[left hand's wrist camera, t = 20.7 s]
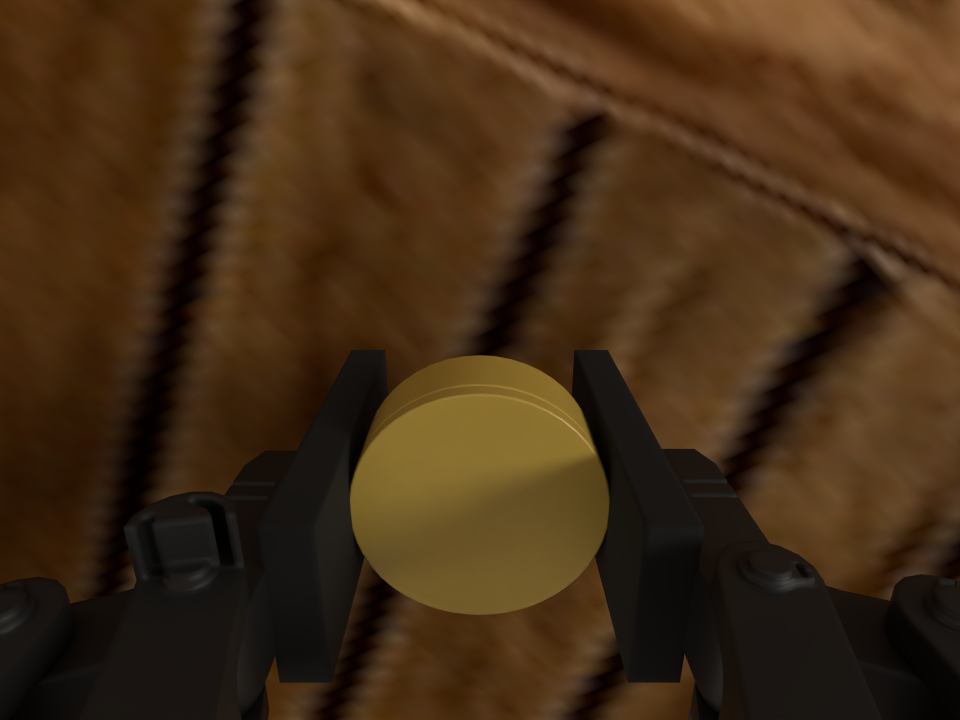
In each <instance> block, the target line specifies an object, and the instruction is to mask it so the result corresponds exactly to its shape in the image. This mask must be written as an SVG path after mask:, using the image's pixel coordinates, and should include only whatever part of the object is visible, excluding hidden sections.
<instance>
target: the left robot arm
mask: <svg viewBox="0 0 960 720" xmlns="http://www.w3.org/2000/svg"><path fill="white" fill-rule="evenodd" d="M387 396H388V391H387V374H386V358H385V350H352V351H351V353H350V355H349V357H348V358H347V360H346V362H345V364H344V366H343V367H342V369H341V371H340V373H339V375H338V377H337V378H336V380H335V382H334V384H333V386H332V388H331V389H330V391H329V393H328V395H327V397H326V399H325V400H324V402H323V404H322V406H321V408H320V410H319V411H318V413H317V415H316V417H315V419H314V420H313V422H312V424H311V426H310V428H309V430H308V431H307V433H306V435H305V437H304V439H303V441H302V442H301V444H300V446H299V448H298V450H297V451H265V452H263V453H262V454H260V455H259V456H258V457H256V458H255V459H253V460H252V461H250V462H249V463H248V464H246V465H245V466H244V467H243V469H242V470H241V472H240V473H239V475H238V476H237V478H236V479H235V481H234V482H233V486H230V488H229V489H228V491H227V492H226V494H225V495H221V494H217V493H213V492H189V493H184V494H179V495H174V496H170V497H167V498H165V499H162V500H160V501H157V502H155V503H152V504H150V505H149V506H147V507H146V508H144V509H142V510H141V511H139V512H138V513H136V514H135V515H134V516H133V517H132V518H131V519H130V520H129V522H128V523H127V524H126V525H125V526H124V532H125V536H126V540H127V544H128V548H129V552H130V556H131V560H132V564H133V567H134V571H135V575H136V579H137V582H136V584H135V586H134V589H131V590H127V591H124V592H120V593H117V594H112V595H108V596H103V597H98V598H94V599H89V600H85V601H80V602H75V603H71V604H70V601H69V598H68V595H67V591H66V588H65V587H64V586H62V585H61V584H60V583H59V582H58V581H57V580H53V579H47V578H42V577H37V578H28V579H19V580H15V581H12V582H7V583H5V584H1V585H0V720H268V714H269V705H268V698H267V691H266V686H265V681H266V679H267V676H268V673H269V671H270V668H271V666H272V663H273V660H274V658H275V655H276V662H277V668H278V674H279V680H280V682H332V679H333V675H334V672H335V668H336V664H337V660H338V656H339V652H340V649H341V645H342V641H343V637H344V633H345V629H346V626H347V622H348V618H349V614H350V610H351V607H352V603H353V599H354V595H355V591H356V587H357V584H358V580H359V576H360V572H361V568H362V564H363V561H364V555H363V554H362V552H361V550H360V548H359V546H358V544H357V542H356V539H355V536H354V533H353V528H352V518H351V507H350V484H351V480H352V477H353V474H354V470H355V467H356V465H357V462H358V459H359V456H360V453H361V451H362V448H363V445H364V442H365V439H366V437H367V434H368V431H369V428H370V425H371V423H372V421H373V419H374V416H375V414H376V412H377V410H378V409H379V407H380V406H381V404H382V403H383V401H384V400H385V399H386V397H387ZM572 397H573V398H574V400H575V401H576V403H577V404H578V406H579V407H580V408H581V410H582V412H583V414H584V416H585V418H586V420H587V422H588V425H589V428H590V431H591V433H592V436H593V439H594V442H595V445H596V448H597V450H598V453H599V456H600V459H601V462H602V465H603V468H604V471H605V474H606V477H607V480H608V484H609V491H610V502H609V514H608V524H607V530H606V533H605V536H604V540H603V542H602V544H601V546H600V548H599V550H598V552H597V554H596V555H595V558H596V562H597V566H598V570H599V574H600V577H601V581H602V585H603V589H604V593H605V596H606V600H607V604H608V608H609V612H610V616H611V619H612V623H613V627H614V631H615V635H616V639H617V642H618V646H619V650H620V654H621V658H622V661H623V665H624V669H625V673H626V677H627V681H628V682H680V678H681V672H682V665H683V659H684V653H685V656H686V658H687V661H688V663H689V666H690V669H691V671H692V674H693V677H694V679H695V686H694V691H693V697H692V703H691V709H690V715H689V720H960V582H959V581H955V580H953V579H948V578H945V577H940V576H931V575H922V574H920V575H914V576H909V577H904V578H903V579H902V580H900V581H899V582H898V583H897V584H896V585H895V587H894V590H893V593H892V596H891V600H890V601H888V600H883V599H878V598H874V597H869V596H865V595H860V594H855V593H851V592H846V591H842V590H839V589H835V588H831V587H828V586H826V585H825V583H824V581H823V579H822V578H821V576H820V575H819V573H818V572H817V570H816V569H815V568H814V566H812V565H811V564H810V563H808V562H807V561H806V560H804V559H803V558H802V557H801V556H799V555H798V554H796V553H793V552H791V551H789V550H787V549H785V548H783V547H780V546H777V545H773V544H770V543H769V542H768V540H767V539H766V537H765V536H764V534H763V533H762V532H761V530H760V529H759V527H758V526H757V524H756V523H755V521H754V520H753V518H752V517H751V515H750V514H749V512H748V511H747V509H746V508H745V506H744V505H743V504H742V502H741V501H740V499H739V498H737V497H736V493H735V492H734V490H733V489H732V487H731V486H730V484H727V480H726V478H725V477H724V476H723V474H722V473H721V471H720V470H719V468H718V467H717V465H716V464H715V463H714V462H712V461H711V460H710V459H708V458H707V457H705V456H704V455H702V454H701V453H699V452H698V451H697V450H695V449H661V447H660V445H659V443H658V441H657V439H656V438H655V436H654V434H653V432H652V430H651V429H650V427H649V425H648V423H647V421H646V419H645V418H644V416H643V414H642V412H641V410H640V408H639V407H638V405H637V403H636V401H635V399H634V397H633V396H632V394H631V392H630V390H629V388H628V386H627V385H626V383H625V381H624V379H623V377H622V375H621V374H620V372H619V370H618V368H617V366H616V365H615V363H614V361H613V359H612V357H611V355H610V354H609V352H608V350H575V352H574V368H573V385H572Z"/></svg>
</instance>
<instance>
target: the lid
mask: <svg viewBox="0 0 960 720" xmlns="http://www.w3.org/2000/svg"><path fill="white" fill-rule="evenodd" d="M609 502H610V491H609V484H608V480H607V477H606V474H605V471H604V468H603V465H602V462H601V459H600V456H599V453H598V450H597V448H596V445H595V442H594V439H593V436H592V433H591V431H590V428H589V425H588V422H587V420H586V418H585V416H584V414H583V412H582V410H581V408H580V407H579V406H578V404H577V403H576V401H575V400H574V398H573V397H572V396H571V395H570V394H569V393H568V392H567V391H566V390H565V388H564V387H562V386H561V385H560V384H559V383H557V382H556V381H555V380H554V379H553V378H551V377H549V376H548V375H546V374H545V373H543V372H542V371H540V370H538V369H536V368H533V367H531V366H529V365H527V364H524V363H521V362H518V361H515V360H512V359H507V358H501V357H496V356H480V355H479V356H463V357H458V358H453V359H447V360H444V361H441V362H438V363H435V364H432V365H430V366H428V367H426V368H424V369H421V370H419V371H418V372H416V373H414V374H413V375H411V376H410V377H408V378H407V379H405V380H404V381H403V382H402V383H400V384H399V385H398V386H397V387H396V388H395V389H394V390H393V391H392V392H391V393H390V394H389V395H388V396H387V397H386V399H385V400H384V401H383V403H382V404H381V406H380V407H379V409H378V410H377V412H376V414H375V416H374V419H373V421H372V423H371V425H370V428H369V431H368V434H367V437H366V439H365V442H364V445H363V448H362V451H361V453H360V456H359V459H358V462H357V465H356V467H355V470H354V474H353V477H352V480H351V484H350V507H351V518H352V528H353V533H354V536H355V539H356V542H357V544H358V546H359V548H360V550H361V552H362V554H363V555H364V557H365V558H366V560H367V561H368V562H369V564H370V565H371V567H372V568H373V569H374V570H375V571H376V572H377V573H378V574H379V575H380V576H381V577H382V578H383V579H384V580H385V581H386V582H387V583H389V584H390V585H391V586H392V587H394V588H395V589H397V590H398V591H400V592H401V593H403V594H404V595H406V596H408V597H410V598H412V599H414V600H416V601H417V602H420V603H422V604H425V605H428V606H430V607H433V608H436V609H440V610H444V611H448V612H454V613H461V614H473V615H486V614H499V613H505V612H511V611H515V610H519V609H523V608H526V607H529V606H532V605H534V604H537V603H539V602H542V601H544V600H546V599H548V598H550V597H551V596H553V595H555V594H557V593H558V592H560V591H561V590H563V589H564V588H566V587H567V586H568V585H569V584H571V583H572V582H573V581H574V580H575V579H576V578H578V577H579V576H580V574H581V573H582V572H583V571H584V570H585V569H586V568H587V567H588V566H589V564H590V563H591V561H592V560H593V558H594V557H595V555H596V554H597V552H598V550H599V548H600V546H601V544H602V542H603V540H604V536H605V533H606V530H607V524H608V514H609Z"/></svg>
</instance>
